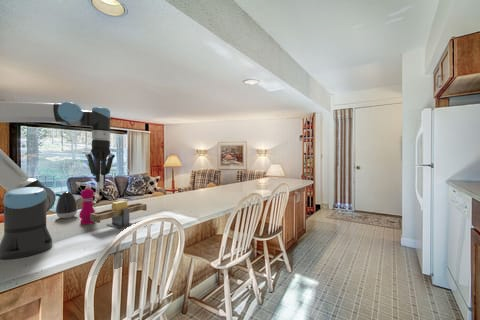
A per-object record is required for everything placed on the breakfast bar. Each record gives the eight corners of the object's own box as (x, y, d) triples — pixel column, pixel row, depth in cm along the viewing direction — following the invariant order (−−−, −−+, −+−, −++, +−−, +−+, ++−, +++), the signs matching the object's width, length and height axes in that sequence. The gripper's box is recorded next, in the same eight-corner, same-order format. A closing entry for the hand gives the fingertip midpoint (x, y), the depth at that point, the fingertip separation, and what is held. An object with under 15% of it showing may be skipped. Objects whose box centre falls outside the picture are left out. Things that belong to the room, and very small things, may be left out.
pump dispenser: (58, 216, 133) (58, 191, 133) (79, 214, 138) (79, 190, 137) (52, 220, 124) (52, 193, 124) (75, 218, 128) (75, 192, 128)
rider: (116, 212, 113) (116, 203, 113) (111, 211, 115) (111, 202, 115) (127, 209, 118) (127, 201, 118) (123, 208, 120) (122, 200, 120)
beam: (98, 222, 104) (97, 215, 104) (90, 220, 107) (90, 213, 107) (146, 210, 126) (146, 203, 126) (138, 208, 130) (138, 202, 130)
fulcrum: (119, 229, 110) (119, 211, 110) (106, 225, 116) (106, 208, 116) (134, 224, 117) (134, 207, 117) (121, 221, 123) (121, 205, 123)
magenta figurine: (82, 225, 115) (82, 187, 115) (77, 223, 120) (77, 186, 120) (97, 222, 121) (97, 185, 121) (92, 220, 126) (92, 184, 125)
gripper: (90, 138, 100) (89, 190, 101) (118, 140, 112) (117, 187, 112) (82, 139, 104) (81, 189, 104) (110, 141, 115) (109, 186, 116)
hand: (100, 188), depth 108 cm, fingers closed
